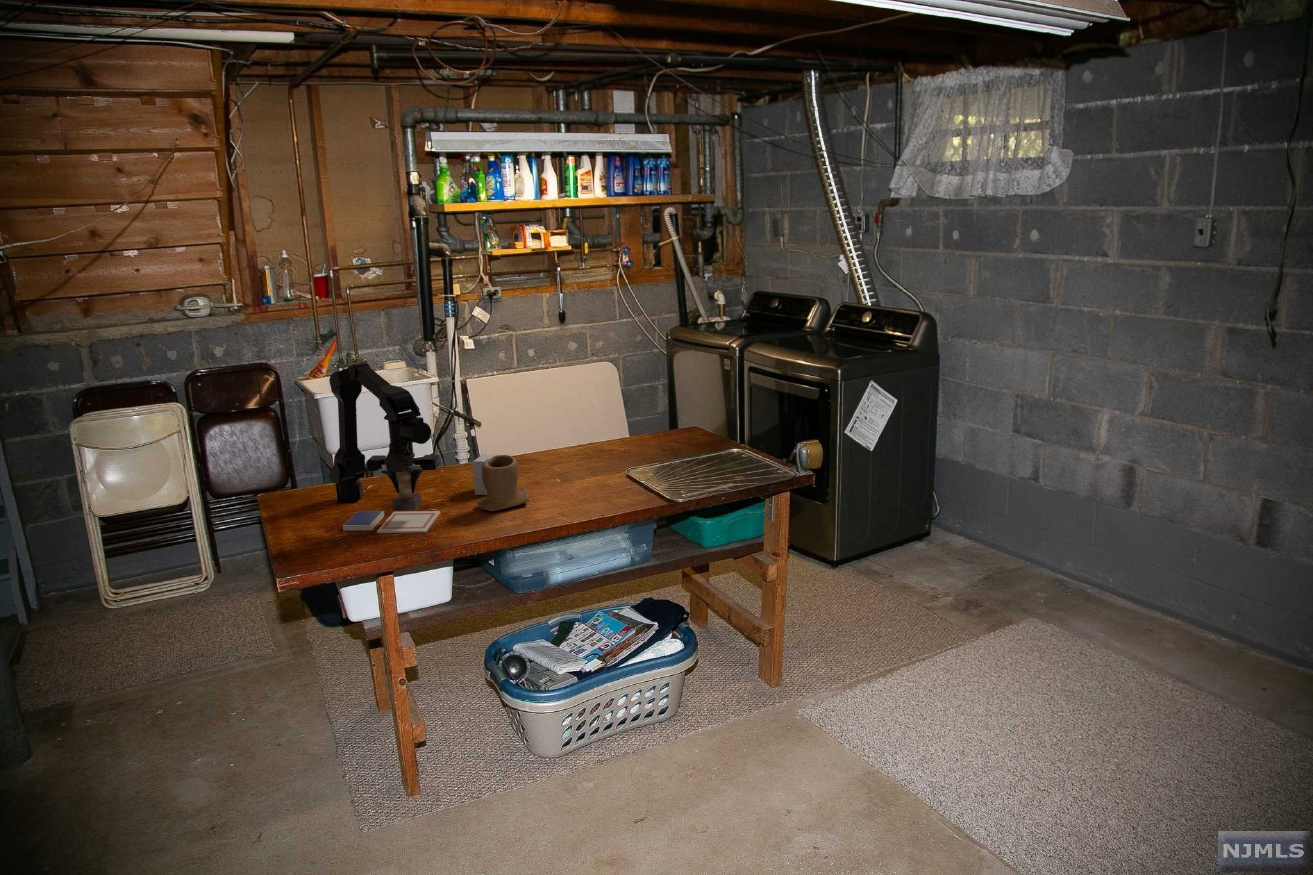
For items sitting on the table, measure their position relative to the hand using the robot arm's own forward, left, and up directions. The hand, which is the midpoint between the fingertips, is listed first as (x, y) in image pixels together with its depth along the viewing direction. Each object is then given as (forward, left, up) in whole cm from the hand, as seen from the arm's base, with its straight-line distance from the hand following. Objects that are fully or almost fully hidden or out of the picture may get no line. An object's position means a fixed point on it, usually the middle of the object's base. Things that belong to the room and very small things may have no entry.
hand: (406, 492), depth 246 cm
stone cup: (+25, +12, -9) cm, 29 cm away
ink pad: (-12, 0, -9) cm, 15 cm away
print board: (0, 0, -9) cm, 9 cm away
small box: (+17, +26, -9) cm, 32 cm away
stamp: (0, 0, -4) cm, 4 cm away
